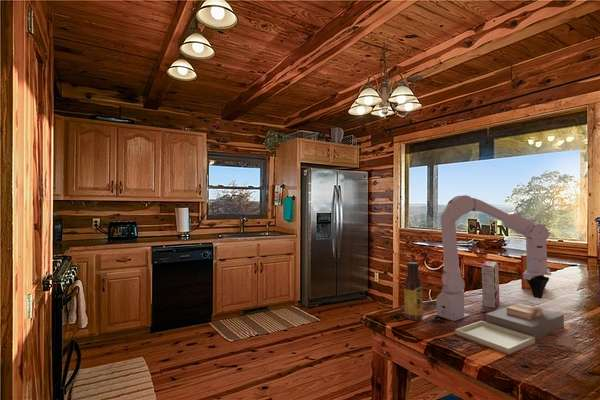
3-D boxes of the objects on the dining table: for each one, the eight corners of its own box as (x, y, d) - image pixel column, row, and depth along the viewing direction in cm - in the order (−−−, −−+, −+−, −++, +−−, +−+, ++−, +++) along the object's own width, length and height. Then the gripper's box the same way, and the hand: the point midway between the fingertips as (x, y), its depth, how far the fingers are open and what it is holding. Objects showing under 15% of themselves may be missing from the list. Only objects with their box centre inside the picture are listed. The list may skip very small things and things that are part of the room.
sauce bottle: (421, 322, 113) (419, 265, 113) (402, 319, 116) (401, 263, 116) (424, 316, 118) (423, 262, 118) (407, 313, 121) (406, 260, 122)
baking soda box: (528, 284, 159) (527, 252, 159) (544, 287, 154) (543, 253, 154) (521, 288, 153) (520, 254, 153) (538, 291, 148) (537, 256, 148)
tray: (509, 354, 88) (508, 348, 88) (455, 334, 102) (455, 329, 102) (535, 342, 95) (534, 337, 95) (481, 325, 109) (481, 320, 109)
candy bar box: (485, 299, 137) (484, 260, 137) (499, 301, 134) (498, 261, 134) (481, 306, 128) (480, 265, 128) (496, 309, 125) (495, 266, 125)
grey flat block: (532, 340, 96) (532, 327, 96) (486, 325, 108) (485, 313, 108) (563, 326, 106) (563, 314, 106) (517, 314, 118) (517, 303, 118)
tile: (529, 319, 102) (529, 313, 102) (506, 313, 108) (506, 307, 108) (542, 314, 106) (542, 308, 106) (519, 309, 112) (519, 303, 112)
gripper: (539, 262, 105) (540, 304, 105) (560, 257, 112) (561, 296, 112) (515, 259, 111) (517, 298, 111) (537, 255, 118) (538, 292, 118)
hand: (537, 297), depth 112 cm, fingers closed
